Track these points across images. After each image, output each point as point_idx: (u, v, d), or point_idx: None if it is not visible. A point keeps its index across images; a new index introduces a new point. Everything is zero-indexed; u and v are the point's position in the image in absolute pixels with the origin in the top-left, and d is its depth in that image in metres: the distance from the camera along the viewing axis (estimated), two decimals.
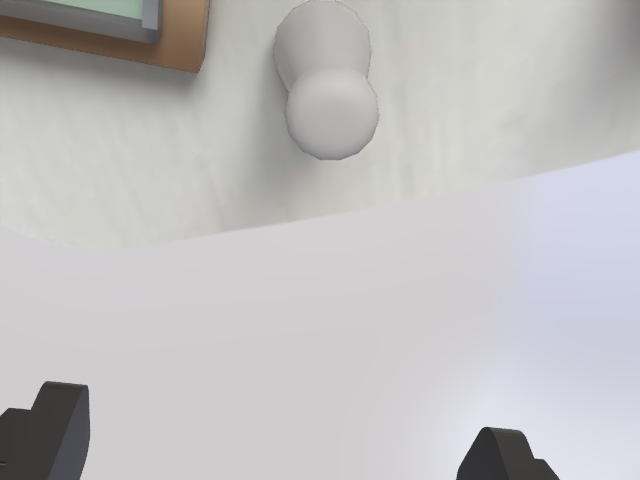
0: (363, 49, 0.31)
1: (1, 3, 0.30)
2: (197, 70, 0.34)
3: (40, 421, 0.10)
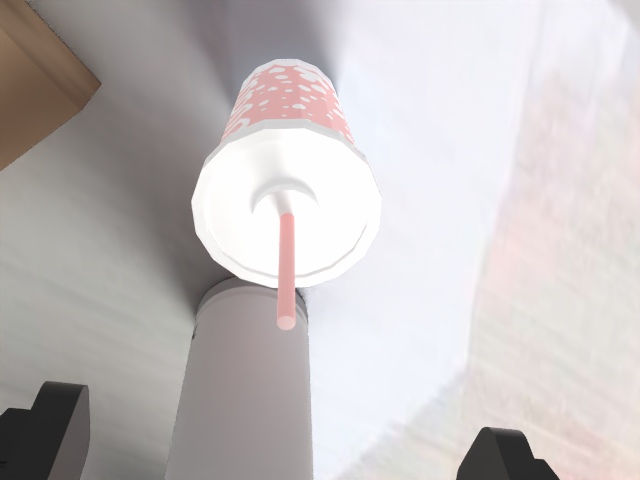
0: None
1: None
2: None
3: (40, 421, 0.10)
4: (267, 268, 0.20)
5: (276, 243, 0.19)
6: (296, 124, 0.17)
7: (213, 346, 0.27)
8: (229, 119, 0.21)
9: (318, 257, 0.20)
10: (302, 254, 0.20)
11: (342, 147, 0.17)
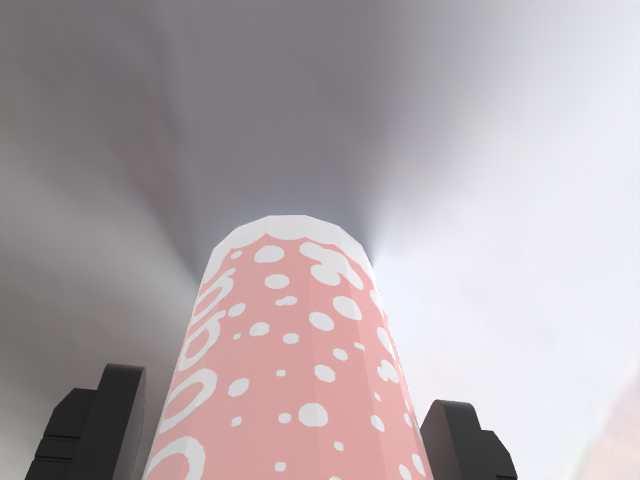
0: None
1: None
2: None
3: (107, 399, 0.10)
4: None
5: None
6: None
7: None
8: (175, 382, 0.11)
9: None
10: None
11: None
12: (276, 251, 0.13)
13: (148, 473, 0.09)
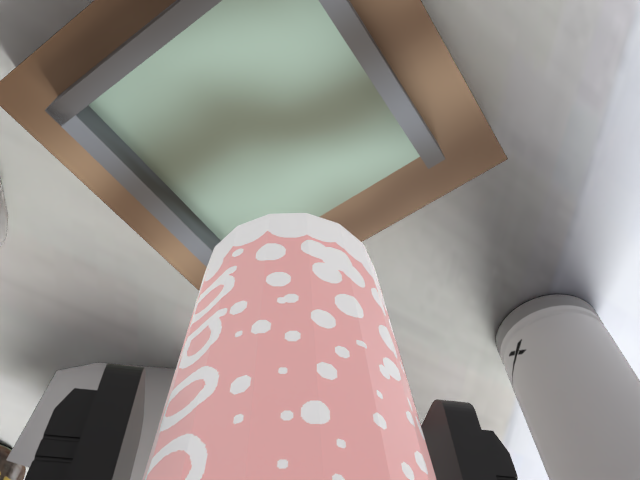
0: None
1: None
2: None
3: (107, 399, 0.10)
4: None
5: None
6: None
7: (564, 361, 0.30)
8: (176, 379, 0.11)
9: None
10: None
11: None
12: (278, 249, 0.13)
13: (150, 470, 0.09)
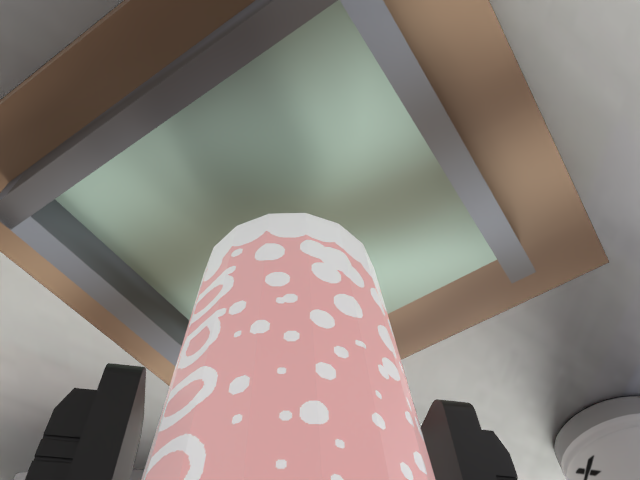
0: None
1: (231, 64, 0.13)
2: None
3: (107, 399, 0.10)
4: None
5: None
6: None
7: None
8: (175, 380, 0.11)
9: None
10: None
11: None
12: (277, 249, 0.13)
13: (148, 471, 0.09)
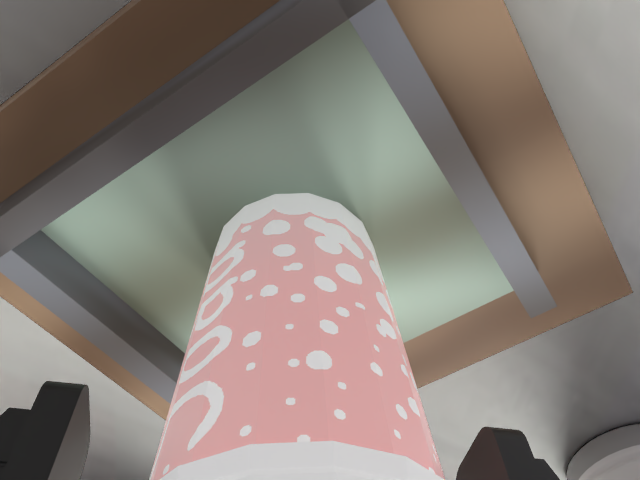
0: None
1: (229, 89, 0.12)
2: None
3: (40, 421, 0.10)
4: None
5: None
6: (318, 466, 0.08)
7: None
8: (192, 340, 0.12)
9: None
10: None
11: None
12: (283, 224, 0.14)
13: (172, 415, 0.10)
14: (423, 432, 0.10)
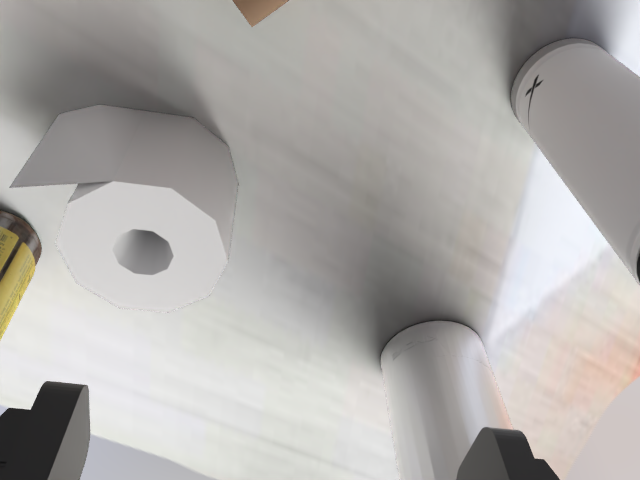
0: None
1: None
2: None
3: (40, 421, 0.10)
4: None
5: None
6: None
7: (582, 74, 0.31)
8: None
9: None
10: None
11: None
12: None
13: None
14: None
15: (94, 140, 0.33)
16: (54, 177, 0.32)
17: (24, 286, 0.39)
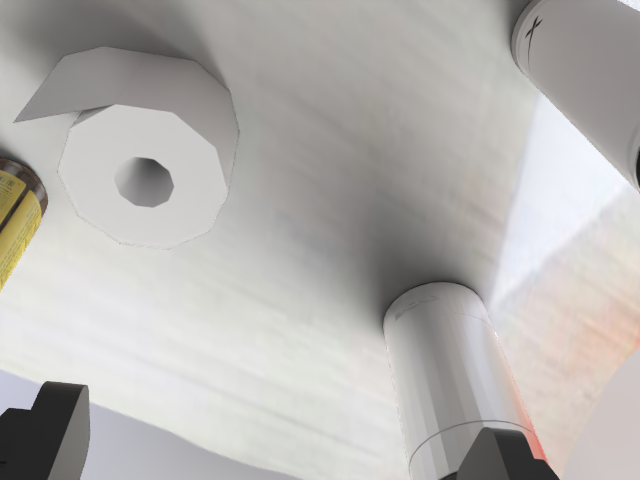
0: None
1: None
2: None
3: (40, 421, 0.10)
4: None
5: None
6: None
7: (581, 8, 0.31)
8: None
9: None
10: None
11: None
12: None
13: None
14: None
15: (98, 74, 0.33)
16: (57, 108, 0.33)
17: (30, 233, 0.39)
